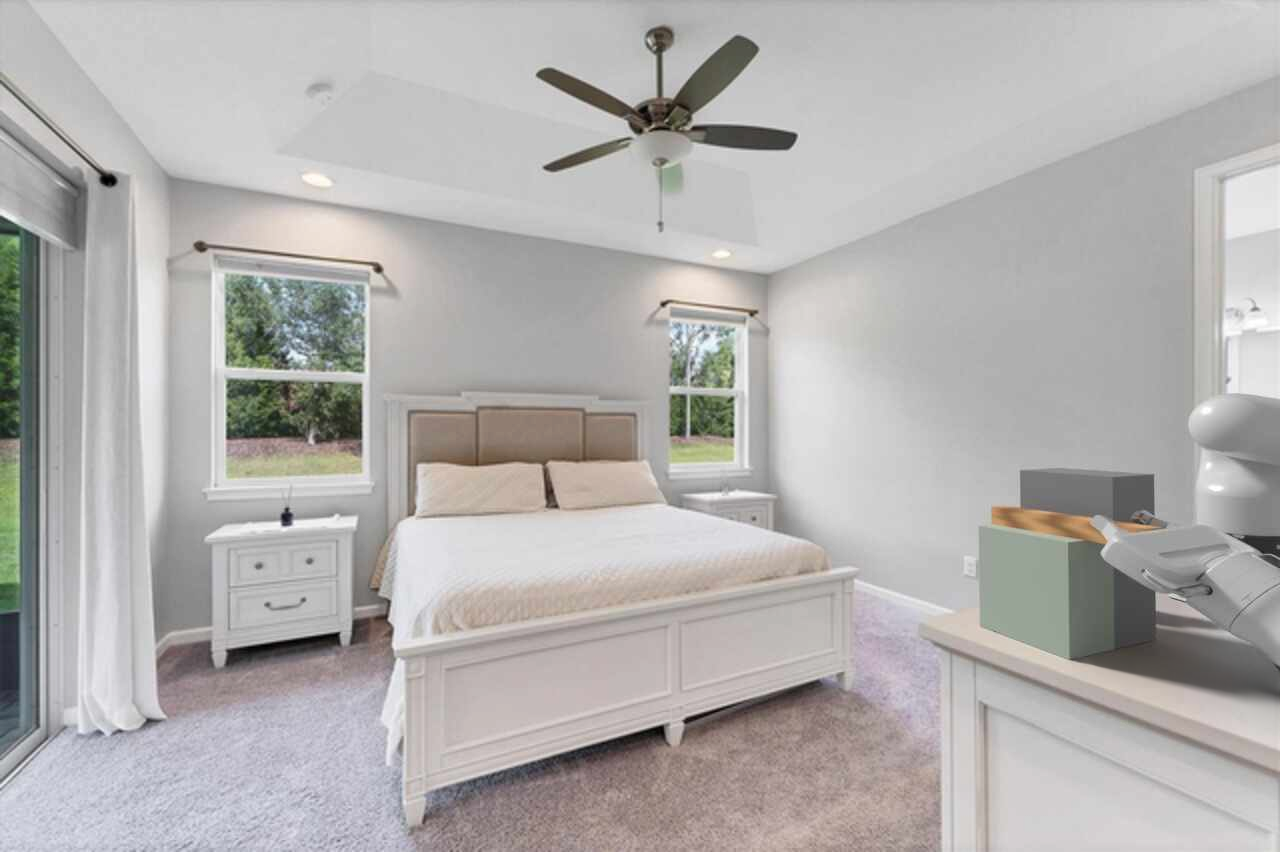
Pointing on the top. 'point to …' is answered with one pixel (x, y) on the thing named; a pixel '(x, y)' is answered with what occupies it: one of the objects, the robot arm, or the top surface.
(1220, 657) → the top surface
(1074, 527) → the orange bar
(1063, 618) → the stepped stand
